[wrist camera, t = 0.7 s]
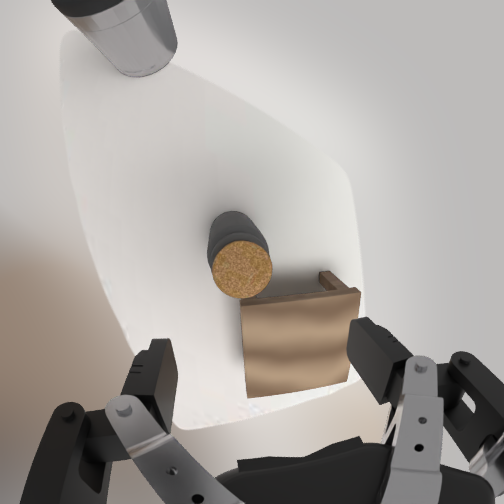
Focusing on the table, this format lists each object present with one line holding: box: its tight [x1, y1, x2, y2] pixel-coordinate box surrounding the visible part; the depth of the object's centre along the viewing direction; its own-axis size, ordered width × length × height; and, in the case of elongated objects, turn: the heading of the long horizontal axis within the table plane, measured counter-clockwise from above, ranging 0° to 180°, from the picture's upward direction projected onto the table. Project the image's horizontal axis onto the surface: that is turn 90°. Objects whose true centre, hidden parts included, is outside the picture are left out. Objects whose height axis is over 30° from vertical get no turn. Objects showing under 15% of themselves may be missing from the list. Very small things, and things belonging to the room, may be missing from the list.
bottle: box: [207, 211, 272, 298], centre depth 28 cm, size 6×6×15 cm
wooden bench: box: [240, 271, 361, 398], centre depth 36 cm, size 14×14×9 cm
